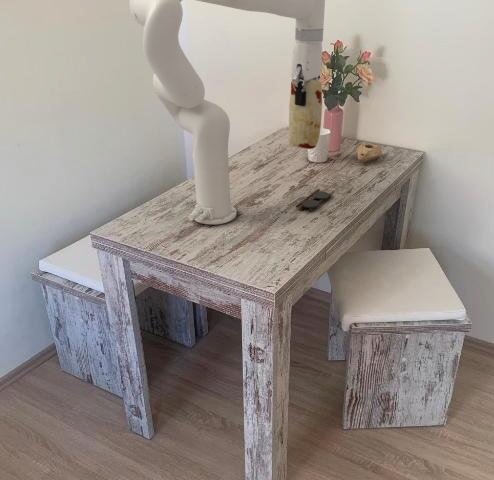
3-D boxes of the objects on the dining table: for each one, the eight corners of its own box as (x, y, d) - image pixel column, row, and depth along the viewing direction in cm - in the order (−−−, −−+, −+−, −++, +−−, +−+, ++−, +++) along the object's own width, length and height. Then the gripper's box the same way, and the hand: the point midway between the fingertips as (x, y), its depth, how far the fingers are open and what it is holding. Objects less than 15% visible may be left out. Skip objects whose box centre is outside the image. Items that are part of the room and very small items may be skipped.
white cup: (327, 164, 198) (328, 135, 193) (305, 162, 200) (305, 134, 194) (330, 156, 205) (331, 128, 200) (308, 154, 206) (309, 127, 201)
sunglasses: (312, 213, 165) (312, 209, 164) (295, 209, 167) (295, 205, 167) (333, 196, 175) (333, 192, 174) (317, 192, 178) (317, 188, 177)
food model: (284, 148, 171) (286, 78, 161) (292, 141, 176) (294, 73, 166) (316, 152, 168) (320, 81, 158) (323, 145, 173) (327, 76, 163)
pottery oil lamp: (348, 164, 197) (346, 143, 197) (364, 165, 207) (362, 145, 206) (371, 159, 192) (369, 138, 191) (386, 161, 202) (384, 141, 201)
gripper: (311, 30, 164) (308, 94, 173) (281, 38, 151) (279, 107, 161) (335, 32, 161) (331, 98, 170) (306, 41, 148) (303, 111, 157)
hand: (306, 102), depth 165 cm, fingers closed on food model, 6 cm apart
